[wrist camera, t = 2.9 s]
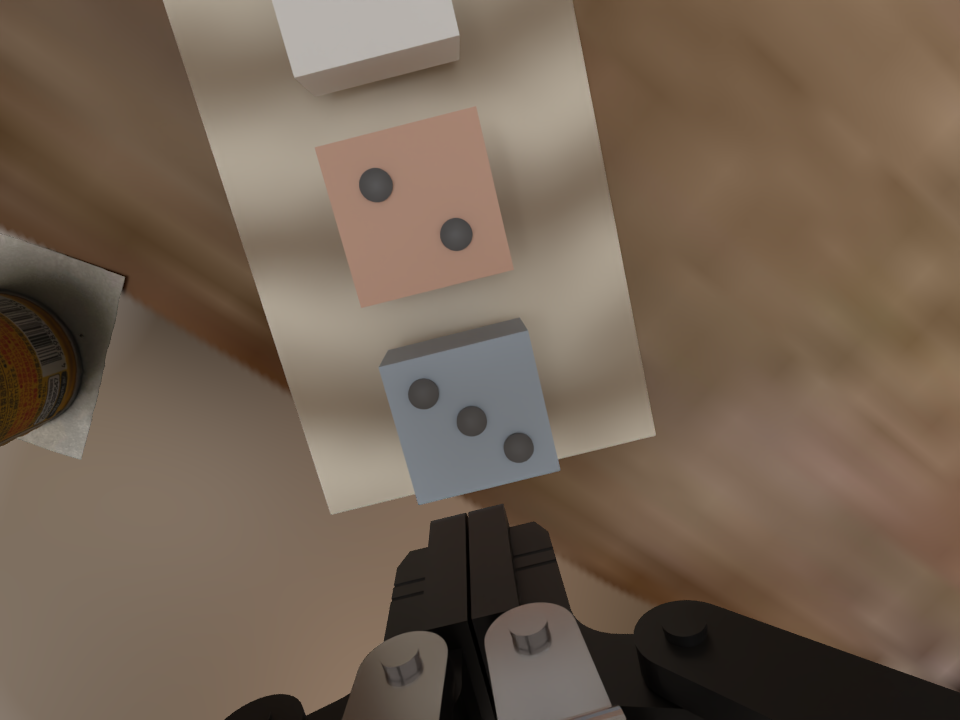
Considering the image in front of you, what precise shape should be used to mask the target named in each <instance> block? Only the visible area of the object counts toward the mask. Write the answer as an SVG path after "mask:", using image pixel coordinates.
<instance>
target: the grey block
mask: <svg viewBox="0 0 960 720" xmlns="http://www.w3.org/2000/svg"><path fill="white" fill-rule="evenodd" d="M378 368H379V371H380V374H381V378H382V381H383V385H384V388H385V392H386V395H387V399H388V402H389V405H390V409H391V412H392V416H393V419H394V423H395V426H396V429H397V433H398V436H399V440H400V443H401V447H402V450H403V454H404V457H405V460H406V464H407V467H408V471H409V474H410V478H411V481H412V484H413V488H414V491H415V495H416V498H417V501H418V505H421V504H425V503H429V502H433V501H437V500H442V499H446V498H450V497H454V496H458V495H462V494H466V493H471V492H475V491H479V490H483V489H487V488H491V487H495V486H499V485H503V484H507V483H512V482H516V481H520V480H524V479H528V478H532V477H536V476H540V475H544V474H549V473H553V472H557V471H560V466H559V462H558V458H557V453H556V449H555V445H554V440H553V436H552V432H551V427H550V423H549V419H548V414H547V410H546V406H545V401H544V397H543V393H542V389H541V384H540V380H539V376H538V371H537V367H536V363H535V358H534V354H533V350H532V345H531V341H530V337H529V332H528V330H527V328H526V326H525V325H524V323H523V322H522V320H521V319H520V317H519V318H515V319H511V320H507V321H503V322H499V323H495V324H491V325H487V326H483V327H479V328H475V329H471V330H467V331H463V332H459V333H455V334H451V335H447V336H443V337H439V338H435V339H431V340H427V341H423V342H419V343H415V344H411V345H407V346H403V347H399V348H395V349H391V350H388V351H387V353H386V355H385V357H384V358H383V360H382V362H381V364H380V366H379V367H378Z"/></svg>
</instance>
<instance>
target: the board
mask: <svg viewBox="0 0 960 720" xmlns="http://www.w3.org/2000/svg"><path fill="white" fill-rule="evenodd" d="M163 2H164V5H165V8H166V11H167V14H168V18H169V21H170V24H171V27H172V30H173V33H174V36H175V39H176V42H177V45H178V48H179V51H180V54H181V57H182V60H183V63H184V67H185V70H186V73H187V76H188V79H189V82H190V85H191V88H192V91H193V94H194V97H195V100H196V103H197V106H198V109H199V112H200V116H201V119H202V122H203V125H204V128H205V131H206V134H207V137H208V140H209V143H210V146H211V149H212V152H213V155H214V158H215V161H216V165H217V168H218V171H219V174H220V177H221V180H222V183H223V186H224V189H225V192H226V195H227V198H228V201H229V204H230V207H231V210H232V214H233V217H234V220H235V223H236V226H237V229H238V232H239V235H240V238H241V241H242V244H243V247H244V250H245V253H246V256H247V259H248V263H249V266H250V269H251V272H252V275H253V278H254V281H255V284H256V287H257V290H258V293H259V296H260V299H261V302H262V305H263V308H264V312H265V315H266V318H267V321H268V324H269V327H270V330H271V333H272V336H273V339H274V342H275V345H276V348H277V351H278V354H279V357H280V361H281V364H282V367H283V370H284V373H285V376H286V379H287V382H288V385H289V388H290V391H291V394H292V397H293V400H294V403H295V407H296V410H297V412H298V415H299V419H300V422H301V425H302V428H303V431H304V434H305V437H306V440H307V443H308V446H309V449H310V452H311V456H312V458H313V462H314V465H315V468H316V471H317V474H318V477H319V480H320V483H321V486H322V489H323V492H324V495H325V498H326V501H327V505H328V508H329V511H330V514H331V515H332V514H336V513H339V512H344V511H348V510H352V509H356V508H360V507H364V506H369V505H373V504H376V503H381V502H385V501H389V500H393V499H397V498H401V497H405V496H409V495H414V494H415V491H414V488H413V484H412V481H411V478H410V474H409V471H408V467H407V464H406V460H405V457H404V454H403V450H402V447H401V443H400V440H399V436H398V433H397V429H396V426H395V423H394V419H393V416H392V412H391V409H390V405H389V402H388V399H387V395H386V392H385V388H384V385H383V381H382V378H381V374H380V371H379V368H378V367H379V366H380V364H381V362H382V360H383V358H384V357H385V355H386V353H387V351H388V350H391V349H395V348H399V347H403V346H407V345H411V344H415V343H419V342H423V341H427V340H431V339H435V338H439V337H443V336H447V335H451V334H455V333H459V332H463V331H467V330H471V329H475V328H479V327H483V326H487V325H491V324H495V323H499V322H503V321H507V320H511V319H515V318H519V317H520V319H521V320H522V322H523V323H524V325H525V326H526V328H527V330H528V332H529V337H530V341H531V345H532V350H533V354H534V358H535V363H536V367H537V371H538V376H539V380H540V384H541V389H542V393H543V397H544V401H545V406H546V410H547V414H548V419H549V423H550V427H551V432H552V436H553V440H554V445H555V449H556V453H557V458H558V459H561V458H565V457H570V456H574V455H578V454H582V453H586V452H590V451H594V450H598V449H602V448H606V447H611V446H615V445H619V444H623V443H627V442H631V441H635V440H639V439H643V438H647V437H652V436H656V433H655V428H654V423H653V418H652V412H651V407H650V402H649V397H648V392H647V386H646V381H645V376H644V371H643V366H642V360H641V355H640V350H639V345H638V340H637V334H636V329H635V324H634V319H633V314H632V308H631V303H630V298H629V293H628V288H627V282H626V277H625V272H624V267H623V261H622V256H621V251H620V246H619V241H618V235H617V230H616V225H615V220H614V215H613V209H612V204H611V199H610V194H609V189H608V183H607V178H606V173H605V168H604V163H603V157H602V152H601V147H600V142H599V137H598V131H597V126H596V121H595V116H594V110H593V105H592V100H591V95H590V90H589V84H588V79H587V74H586V69H585V64H584V58H583V53H582V48H581V43H580V38H579V32H578V27H577V22H576V17H575V12H574V6H573V1H572V0H452V4H453V9H454V13H455V17H456V22H457V26H458V30H459V35H460V51H459V60H457V61H453V62H449V63H445V64H441V65H437V66H434V67H430V68H426V69H422V70H418V71H414V72H410V73H406V74H403V75H399V76H395V77H391V78H387V79H383V80H379V81H375V82H371V83H368V84H364V85H360V86H356V87H352V88H348V89H344V90H340V91H336V92H333V93H329V94H325V95H321V96H317V97H315V96H314V95H313V94H312V93H311V92H310V91H309V90H307V89H306V88H305V87H304V86H303V85H302V84H301V83H300V82H298V81H297V80H296V79H295V78H294V75H293V72H292V68H291V65H290V61H289V58H288V55H287V51H286V48H285V44H284V41H283V37H282V34H281V31H280V27H279V24H278V20H277V17H276V13H275V10H274V6H273V3H272V0H163ZM475 106H476V108H477V112H478V117H479V121H480V125H481V130H482V134H483V138H484V143H485V147H486V151H487V155H488V160H489V164H490V168H491V173H492V177H493V181H494V186H495V190H496V194H497V199H498V203H499V207H500V212H501V216H502V220H503V225H504V229H505V233H506V237H507V242H508V246H509V250H510V255H511V259H512V263H513V268H514V270H511V271H507V272H503V273H499V274H495V275H491V276H487V277H483V278H479V279H475V280H471V281H467V282H463V283H459V284H455V285H451V286H447V287H443V288H439V289H435V290H431V291H427V292H423V293H419V294H415V295H411V296H407V297H403V298H399V299H395V300H391V301H387V302H383V303H379V304H375V305H371V306H367V307H363V308H361V306H360V302H359V299H358V295H357V292H356V288H355V285H354V282H353V278H352V275H351V271H350V268H349V264H348V261H347V258H346V254H345V251H344V247H343V244H342V240H341V237H340V233H339V230H338V227H337V223H336V220H335V216H334V213H333V209H332V206H331V202H330V199H329V196H328V192H327V189H326V185H325V182H324V178H323V175H322V172H321V168H320V165H319V161H318V158H317V154H316V151H315V147H318V146H322V145H326V144H330V143H334V142H338V141H342V140H345V139H349V138H353V137H357V136H361V135H365V134H369V133H373V132H377V131H381V130H385V129H388V128H392V127H396V126H400V125H404V124H408V123H412V122H416V121H420V120H424V119H428V118H432V117H435V116H439V115H443V114H447V113H451V112H455V111H459V110H463V109H467V108H471V107H475Z"/></svg>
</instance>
